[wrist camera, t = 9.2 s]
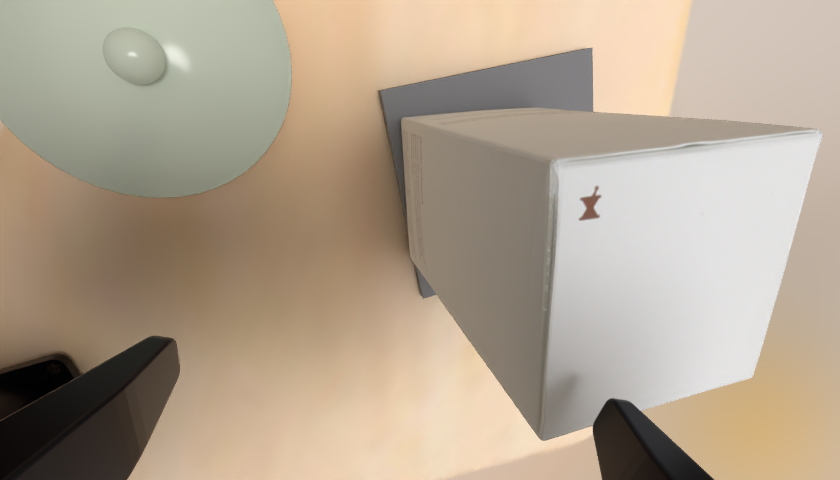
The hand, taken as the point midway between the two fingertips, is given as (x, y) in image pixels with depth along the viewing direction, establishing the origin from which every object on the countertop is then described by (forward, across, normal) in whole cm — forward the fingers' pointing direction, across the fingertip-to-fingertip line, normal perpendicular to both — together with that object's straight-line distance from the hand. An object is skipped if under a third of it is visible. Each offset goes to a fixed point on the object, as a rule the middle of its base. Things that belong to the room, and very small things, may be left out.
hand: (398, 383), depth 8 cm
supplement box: (+14, -3, 0) cm, 14 cm away
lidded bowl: (+12, +10, -3) cm, 16 cm away
